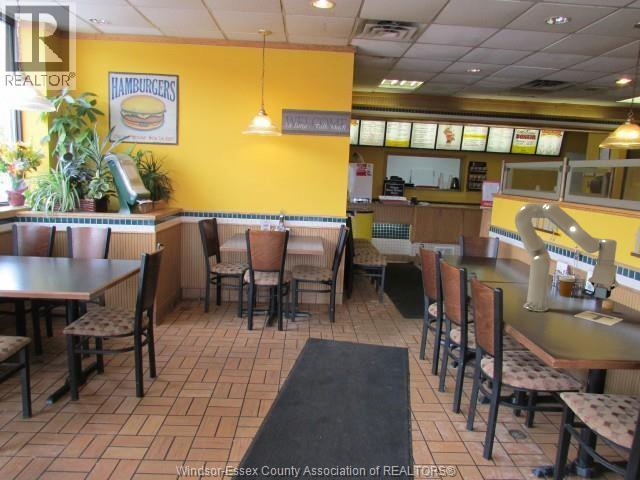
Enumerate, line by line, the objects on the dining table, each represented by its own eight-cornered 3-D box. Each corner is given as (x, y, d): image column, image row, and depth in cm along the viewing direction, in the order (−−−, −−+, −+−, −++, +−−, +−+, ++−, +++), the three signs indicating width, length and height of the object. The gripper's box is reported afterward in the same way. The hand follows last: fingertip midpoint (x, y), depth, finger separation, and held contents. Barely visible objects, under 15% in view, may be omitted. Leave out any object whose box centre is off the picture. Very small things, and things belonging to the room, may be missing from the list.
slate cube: (605, 298, 236) (606, 289, 235) (594, 296, 239) (595, 287, 239) (608, 297, 239) (610, 288, 238) (598, 295, 242) (599, 286, 242)
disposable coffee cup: (567, 298, 280) (569, 279, 278) (553, 294, 289) (555, 276, 287) (576, 296, 285) (579, 278, 283) (562, 292, 293) (565, 274, 291)
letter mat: (610, 326, 228) (610, 325, 228) (573, 316, 242) (573, 315, 242) (623, 320, 239) (623, 319, 239) (587, 311, 253) (587, 310, 253)
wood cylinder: (610, 314, 250) (612, 303, 249) (599, 311, 254) (601, 301, 253) (614, 312, 253) (616, 302, 252) (603, 310, 257) (605, 299, 256)
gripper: (585, 260, 241) (581, 293, 243) (621, 266, 227) (617, 301, 230) (591, 259, 245) (587, 291, 248) (627, 264, 232) (622, 299, 235)
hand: (601, 295), depth 239 cm, fingers closed on slate cube, 5 cm apart
